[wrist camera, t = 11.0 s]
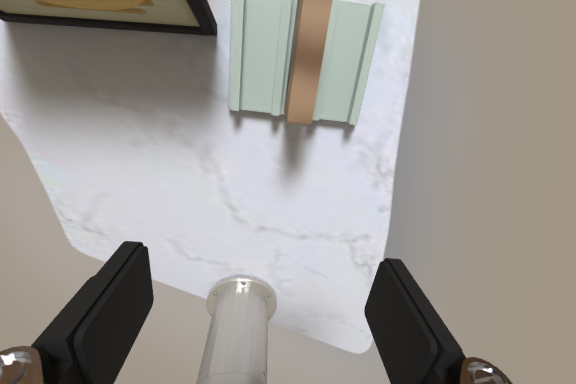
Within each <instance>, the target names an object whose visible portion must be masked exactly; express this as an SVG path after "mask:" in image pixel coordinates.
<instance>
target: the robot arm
mask: <svg viewBox="0 0 576 384" xmlns="http://www.w3.org/2000/svg"><path fill="white" fill-rule="evenodd" d="M152 304H153V289H152V280H151V272H150V263H149V254H148V248H147V247H146V246H143V243H142V242H131V241H125V242H123V243H122V245H121V246H120V247H119V248H118V249H117V250H116V252H115V253H114V254H113V255H112V256H111V257H110V259H109V260H108V261H107V262H106V263H105V265H104V266H103V267H102V268H101V269H100V271H99V272H98V273H97V274H96V275H95V276H93V277H91V278H90V279H89V280H87V282H86V283H85V284H84V285H83V286H82V287H81V289H80V290H79V291H78V292H77V293H76V294H75V295H74V297H73V298H72V299H71V300H70V301H69V302H68V304H67V305H66V306H65V307H64V308H63V309H62V310H61V312H60V313H59V314H58V315H57V316H56V317H55V319H54V320H53V321H52V322H51V323H50V324H49V326H48V327H47V328H46V329H45V330H44V331H43V333H42V334H41V335H40V336H39V337H38V338H37V339H36V341H35V342H34V343H33V344H32V345H31V346H18V347H12V348H9V349H6V350H3V351H1V352H0V384H113V383H114V382H115V380H116V378H117V376H118V374H119V372H120V370H121V368H122V366H123V364H124V362H125V359H126V358H127V356H128V354H129V352H130V350H131V348H132V346H133V344H134V342H135V340H136V338H137V336H138V334H139V332H140V330H141V328H142V326H143V324H144V322H145V320H146V318H147V316H148V313H149V311H150V309H151V307H152ZM275 309H276V296H275V293H274V291H273V290H272V288H271V287H270V286H269V285H268V284H266V283H265V282H263V281H262V280H259V279H257V278H254V277H249V276H234V277H229V278H226V279H224V280H222V281H220V282H218V283H217V284H216V285H215V286H213V288H212V289H211V290H210V292H209V295H208V298H207V310H208V312H209V314H210V316H211V317H212V319H211V323H210V328H209V332H208V336H207V341H206V344H205V349H204V354H203V357H202V361H201V366H200V370H199V374H198V378H197V383H196V384H267V327H268V326H267V323H268V320H269V319H270V318H271V317H272V316H273V314H274V312H275ZM365 317H366V319H367V322H368V325H369V327H370V330H371V333H372V335H373V338H374V340H375V343H376V346H377V348H378V351H379V354H380V356H381V359H382V362H383V364H384V367H385V369H386V372H387V375H388V377H389V380H390V383H391V384H512V382H511V381H510V380H509V379H508V377H507V376H506V375H505V374H504V373H503V372H502V371H501V370H499V369H498V368H497V367H495V366H494V365H492V364H491V363H489V362H487V361H485V360H483V359H480V358H476V357H469V358H466V357H465V355H464V354H463V352H462V349H461V347H460V346H459V344H458V343H457V341H456V340H455V339H454V337H453V336H452V334H451V333H450V331H449V330H448V328H447V327H446V325H445V324H444V322H443V321H442V319H441V318H440V316H439V315H438V314H437V312H436V311H435V309H434V308H433V306H432V305H431V303H430V302H429V300H428V299H427V297H426V296H425V294H424V293H423V291H422V290H421V289H420V287H419V286H418V284H417V283H416V281H415V280H414V278H413V277H412V275H411V274H410V273H409V271H408V269H407V268H406V266H405V265H404V263H403V262H402V261H401V260H400V259H391V258H386V259H385V260H384V261H382V262H380V264H379V267H378V270H377V273H376V276H375V279H374V282H373V285H372V288H371V291H370V294H369V297H368V299H367V302H366V305H365Z"/></svg>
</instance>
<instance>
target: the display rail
mask: <svg viewBox="0 0 576 384" xmlns="http://www.w3.org/2000/svg"><path fill="white" fill-rule="evenodd" d="M297 1H298V0H231V27H230V60H229V94H228V108H230V110H233V111H239V110H240V109H241V110H249V111H257V112H266V113H271V115H275V116H279V115H280V114H282V115H285V113H284V104H285V97H286V89H287V81H288V73H289V65H290V57H291V49H292V41H293V33H294V25H295V17H296V9H297ZM384 5H385V4H381V3H374V4H373V5H365V4H359V3H353V2H347V1H341V0H333V1H332V8H331V14H330V20H329V25H328V31H327V37H326V43H325V49H324V55H323V60H322V66H321V72H320V78H319V84H318V89H317V95H316V101H315V107H314V112H313V118H312V120H317V121H319V119H324V120H333V121H341V122H347V123H348V124H351V125H357V122H358V118H359V114H360V109H361V105H362V101H363V96H364V92H365V88H366V83H367V79H368V75H369V70H370V66H371V62H372V57H373V53H374V49H375V44H376V40H377V36H378V31H379V27H380V23H381V18H382V14H383V10H384Z"/></svg>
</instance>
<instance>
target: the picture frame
mask: <svg viewBox="0 0 576 384" xmlns="http://www.w3.org/2000/svg"><path fill="white" fill-rule="evenodd" d="M0 19H1V20H3V21H8V22H22V23H37V24H52V25H66V26H81V27H95V28H110V29H125V30H139V31H154V32H168V33H183V34H198V35H212V36H215V35H217V24H216V21H215V19H214V16H213V14H212V11H211V9H210V6H209V4H208V1H207V0H0Z"/></svg>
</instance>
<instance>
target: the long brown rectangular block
mask: <svg viewBox="0 0 576 384" xmlns="http://www.w3.org/2000/svg"><path fill="white" fill-rule="evenodd" d="M332 1H333V0H298V1H297V9H296V17H295V25H294V33H293V41H292V49H291V57H290V65H289V73H288V81H287V89H286V97H285V104H284V113H285V117H286V120H287V122H290V123H298V124H306V125H311V124H312V118H313V112H314V107H315V101H316V95H317V89H318V84H319V78H320V72H321V66H322V60H323V55H324V49H325V43H326V37H327V31H328V25H329V20H330V14H331V8H332Z"/></svg>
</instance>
